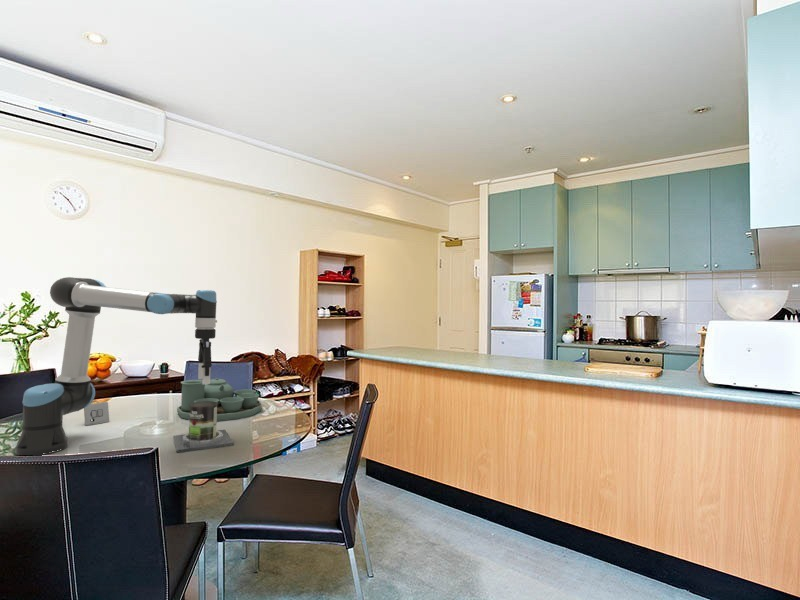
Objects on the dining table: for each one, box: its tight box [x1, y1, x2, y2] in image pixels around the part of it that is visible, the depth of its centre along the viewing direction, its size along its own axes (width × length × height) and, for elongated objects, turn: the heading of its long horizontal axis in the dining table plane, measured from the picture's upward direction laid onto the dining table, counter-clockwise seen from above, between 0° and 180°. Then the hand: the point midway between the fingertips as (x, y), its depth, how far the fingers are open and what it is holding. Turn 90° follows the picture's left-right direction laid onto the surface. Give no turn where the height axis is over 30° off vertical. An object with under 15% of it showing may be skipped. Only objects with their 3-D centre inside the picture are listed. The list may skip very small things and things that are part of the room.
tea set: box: [176, 377, 263, 422], centre depth 227 cm, size 40×40×16 cm
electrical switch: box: [83, 401, 110, 426], centre depth 202 cm, size 9×5×9 cm, turn 141°
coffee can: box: [188, 401, 218, 440], centre depth 178 cm, size 10×10×14 cm
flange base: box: [172, 429, 235, 453], centre depth 178 cm, size 20×20×2 cm
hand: (203, 381), depth 178 cm, fingers open, 13 cm apart
